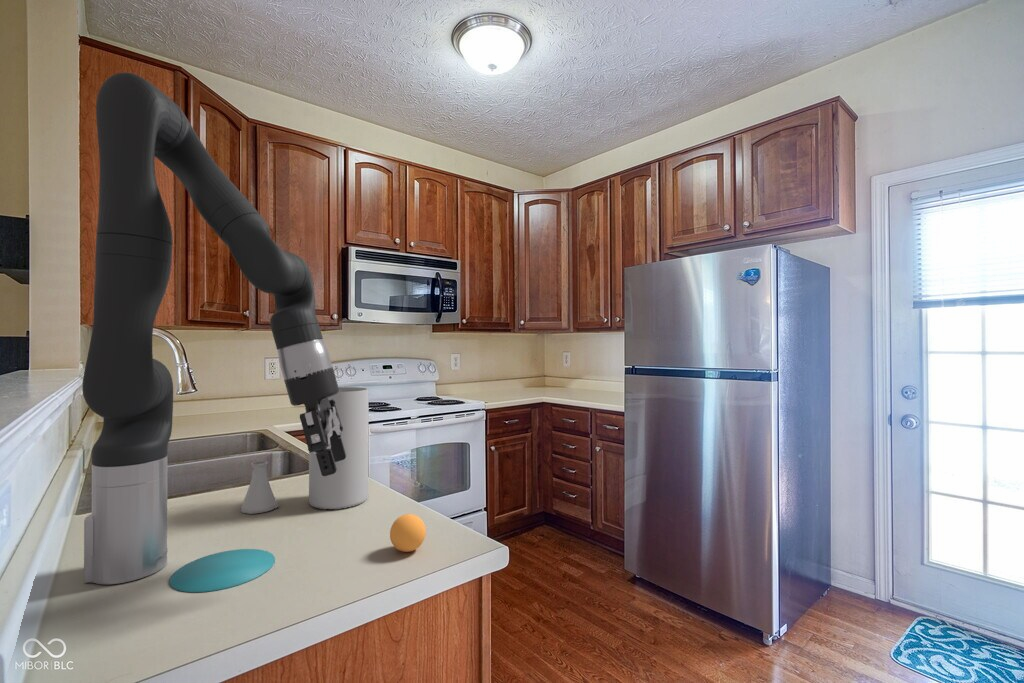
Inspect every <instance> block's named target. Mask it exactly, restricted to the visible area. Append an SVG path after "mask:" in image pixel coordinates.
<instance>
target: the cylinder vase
mask: <svg viewBox="0 0 1024 683" xmlns="http://www.w3.org/2000/svg"><path fill="white" fill-rule="evenodd" d="M338 388H339V392H338V393H337V394H336V395H333V396H330V397H328V400H332V399H334V401H335V404H336V408H337V411H338V414H339V418H340V421H341V425H342V427H343V431H342V437H340V438H341V439H342V442H343V446H344V449H345V453H346V458H345V459H344V460H341V461H338V462H335V464H336V468H337V471H336V472H335V473H334V474H331V475H328V476H322V474H321V471H320V467H319V464H318V460H317V457H316V454H314V453H313V452H311V453H310V452H309V451H308V503H309V505H311V506H312V507H313V508H315V509H318V508H319V509H320V510H326V509H334V510H342V509H341V508H344V509H348V508H347V507H349V508H352V507H351V506H353V507H356V506H359V505H361V504H363V503H364V502H365V501H367V500H368V497H369V422H370V421H369V412H370V411H369V408H370V407H369V402H370V401H369V394H370V393H369V388H367V387H359V386H358V387H357V386H353V387H352V386H342V387H341V386H338ZM317 442H320V440H318V441H317ZM358 504H359V505H358ZM355 505H356V506H355ZM319 509H318V510H319Z"/></svg>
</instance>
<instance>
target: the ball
mask: <svg viewBox="0 0 1024 683" xmlns="http://www.w3.org/2000/svg"><path fill="white" fill-rule="evenodd" d="M389 531H390V532H389V538H390V541H391V544H392V545H393V547H394V548H395V549H397V550H398V551H399V552H404V553H409V552H413V551H415V550H417V549H418V548H420V547H421V545H422V544H423V543H424V541H425V538H426V535H427V528H426V525H425V523H424V521H423V519H422V518H421V517H419V516H418V515H415V514H412V513H408V514H407V513H406V514H402V515H400V516H398V517H397V518H396V519H395V520H394V521H393V523H392V525H391V527H390V530H389Z"/></svg>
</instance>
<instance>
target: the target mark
mask: <svg viewBox="0 0 1024 683" xmlns="http://www.w3.org/2000/svg"><path fill="white" fill-rule="evenodd" d="M275 560H276V558H275V555H274V553H273V554H272V552H269V550H268V551H267V550H264V549H260V548H259V549H257V548H240V549H230V550H226V551H220V552H216V553H212V554H208V555H205V556H202V557H200V558H197V559H195V560H193V561H190V562H188V563H186V564H184V565H182V566H181V567H179V568H178V569H177V570H175V571H174V573H173V574H172V575H171V576H170V578H169V584H170V586H171V588H173V589H174V590H176V591H180V592H185V593H208V592H214V591H215V592H217V591H220V590H221V591H222V590H226V589H229V588H230V589H231V588H233V587H237V586H239V585H243V584H246V583H248V582H251V581H253V580H256V579H257V578H259V577H261V576H262V575H264V574H266V573H267V572H268V571H270V569H272V567H273V566H274V565H275ZM273 564H274V565H273Z"/></svg>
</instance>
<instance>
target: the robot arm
mask: <svg viewBox="0 0 1024 683" xmlns="http://www.w3.org/2000/svg"><path fill="white" fill-rule="evenodd" d="M95 103H96V104H95V118H96V130H97V131H96V132H97V133H96V134H97V143H98V155H99V156H98V158H99V186H98V217H97V224H96V225H97V227H96V237H95V239H96V240H95V255H94V257H95V258H94V259H95V260H94V290H93V321H92V330H91V336H90V340H89V346H88V353H87V357H86V363H85V367H84V372H83V377H82V385H81V386H82V388H81V389H82V395H83V398H84V401H85V404H86V405H87V407H89V409H90V410H91V411H92V412H93V413H95V414H96V415H98V416H99V417H102V418H103V424H102V429H101V432H100V434H99V437H98V438H97V440H96V441H95V443H94V444H93V445H92V448H91V449H92V450H91V513H90V514H89V515H87V516H86V517H85V518H84V520H83V531H84V532H83V583H84V584H85V583H86V584H87V583H93V584H94V583H95V584H97V585H116V584H123V583H128V582H131V581H136V580H140V579H143V578H146V577H149V576H150V575H152V574H154V573H157V572H159V571H160V570H162V569H163V568H165V566H166V565H167V563H168V448H169V441H170V439H171V435H172V432H173V415H174V384H173V382H174V381H173V377H172V374H171V372H170V371H169V368H167V366H166V365H165V364H163V363H162V362H161V361H159V360H158V359H155V358H153V355H154V354H153V333H154V325H155V322H156V321H155V320H156V317H157V314H158V311H159V309H160V306H161V303H162V301H163V299H164V295H165V293H166V291H167V288H168V285H169V281H170V276H171V271H172V261H173V260H172V259H173V258H172V257H173V231H172V230H173V229H172V225H171V222H170V218H169V215H168V212H167V208H166V206H165V203H164V200H163V197H162V195H161V192H160V189H159V185H158V183H157V178H156V171H155V158H156V159H157V160H159V161H160V162H161V163H162V164H163V165H164V166H165V167H167V168H168V169H169V170H170V171H171V172H172V173H173V174H174V175H175V176H176V177H177V179H179V181H180V182H181V184H182V185H183V186H184V187H185V189H186V191H187V193H188V196H189V197H190V199H191V201H192V203H193V206H195V208H196V210H197V212H198V213H199V214H200V216H201V217H202V218H203V220H204V221H205V222H206V223H207V225H208V226H209V227H210V228H211V229H212V230H213V232H214V233H215V234H216V235H217V236H218V238H219V239H220V240H221V241H222V242H223V244H225V245H226V247H228V250H229V251H230V253H231V255H232V257H233V259H234V261H235V263H236V265H238V268H239V270H240V271H241V273H242V274H243V276H244V277H245V278H246V280H248V282H249V283H250V284H251V285H253V287H255V288H256V289H257V290H258V291H261V292H263V293H266V294H271V295H273V298H274V302H275V303H274V304H275V310H276V311H275V312H274V313H273V314H272V315H271V317H270V319H269V320H270V321H269V322H270V324H269V325H270V328H271V332H272V336H273V340H274V344H275V347H276V350H277V355H278V362H279V367H280V370H281V375H282V377H283V382H284V384H285V388H286V392H287V396H288V399H289V402H290V405H291V406H294V407H296V406H303V405H304V406H305V408H304V409H305V412H304V413H300V414H299V420H300V423H301V426H302V429H303V434H304V437H305V441H306V445H307V451H308V453H309V452H310V453H311V452H313V453H314V454H316V457H317V460H318V464H319V467H320V471H321V474H322V476H328V475H331V474H334V473H335V472H336V471H337V468H336V464H335V462H338V461H341V460H344V459H345V458H346V453H345V449H344V446H343V442H342V439H341V438H340V437H342V431H343V427H342V425H341V421H340V418H339V414H338V411H337V408H336V404H335V401H334V399H332V400H328V397H330V396H333V395H336V394H337V393H338V392H339V388H338V387H339V384H338V382H337V378H336V374H335V371H334V370H335V369H334V366H333V363H332V359H331V357H330V356H331V355H330V353H329V350H328V348H327V346H326V344H325V341H324V337H323V335H322V330H321V328H320V324H319V319H318V317H317V314H316V296H315V285H314V279H313V275H312V272H311V269H310V268H309V265H308V264H307V263H306V261H305V260H304V259H303V258H302V257H300V256H299V255H298V254H295V253H292V252H289V251H284V250H283V249H282V248H281V247H280V246H279V245H278V244H277V243H276V242H275V241H274V239H273V238H272V237H271V229H270V227H269V224H268V223H267V221H266V220H265V219H264V218H263V216H262V215H261V214H260V213H259V212H258V211H257V209H256V208H255V207H254V206H253V205H252V204H251V202H250V201H249V200H248V199H247V197H246V196H245V195H244V194H243V193H242V192H241V191H240V190H239V189H238V187H236V185H235V184H234V183H233V182H232V181H231V179H230V178H229V177H228V176H227V175H226V174H225V173H224V172H223V170H222V169H221V168H220V167H219V166H218V164H217V163H216V161H215V160H214V159H213V157H212V156H211V155H210V153H209V152H208V150H207V149H206V147H205V146H204V144H203V143H202V141H201V139H200V137H199V135H197V132H196V131H195V129H194V127H193V125H192V124H191V122H190V121H189V119H188V118H187V116H186V114H185V112H183V110H182V108H181V107H180V106H179V105H178V104H177V103H175V101H174V100H172V99H171V98H170V97H169V96H168V95H166V94H165V93H164V92H162V90H160V89H159V88H158V87H157V86H155V85H154V84H152V83H151V82H150V81H148V80H147V79H145V78H143V77H141V75H140V76H139V75H138V74H135V73H132V72H126V71H125V72H119V73H114V74H112V75H110V77H107V78H106V79H105V81H104V82H103V83H102V85H101V86H100V88H99V90H98V93H97V96H96V102H95ZM318 440H320V442H317V441H318Z"/></svg>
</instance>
